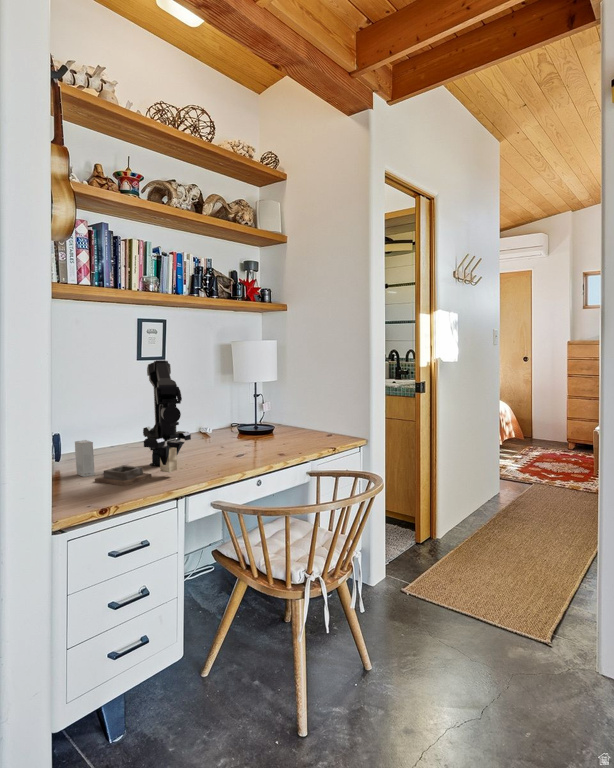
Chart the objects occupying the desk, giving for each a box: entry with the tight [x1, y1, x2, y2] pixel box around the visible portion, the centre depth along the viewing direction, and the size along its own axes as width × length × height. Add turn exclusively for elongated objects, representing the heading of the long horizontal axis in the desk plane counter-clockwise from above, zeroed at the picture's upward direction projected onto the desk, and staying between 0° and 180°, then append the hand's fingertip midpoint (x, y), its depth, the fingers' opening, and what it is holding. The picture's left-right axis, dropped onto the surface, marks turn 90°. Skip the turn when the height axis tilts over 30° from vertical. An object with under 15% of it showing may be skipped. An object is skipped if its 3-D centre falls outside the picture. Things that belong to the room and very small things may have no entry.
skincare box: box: [74, 439, 96, 478], centre depth 176 cm, size 6×4×12 cm
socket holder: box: [94, 464, 153, 487], centre depth 171 cm, size 13×13×4 cm
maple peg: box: [159, 447, 178, 473], centre depth 174 cm, size 4×4×8 cm
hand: (168, 463), depth 174 cm, fingers closed on maple peg, 4 cm apart
